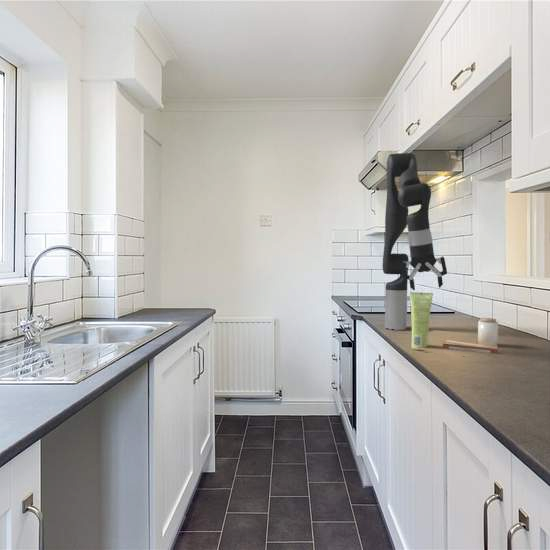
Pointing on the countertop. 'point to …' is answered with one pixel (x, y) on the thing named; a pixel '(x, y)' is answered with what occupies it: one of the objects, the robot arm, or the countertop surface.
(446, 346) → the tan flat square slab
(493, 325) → the jar
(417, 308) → the tube
